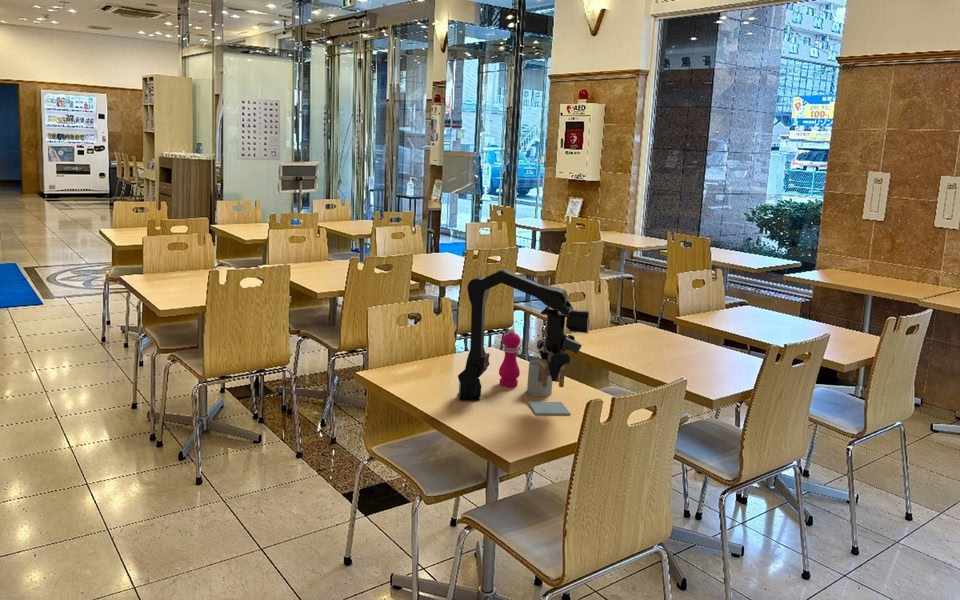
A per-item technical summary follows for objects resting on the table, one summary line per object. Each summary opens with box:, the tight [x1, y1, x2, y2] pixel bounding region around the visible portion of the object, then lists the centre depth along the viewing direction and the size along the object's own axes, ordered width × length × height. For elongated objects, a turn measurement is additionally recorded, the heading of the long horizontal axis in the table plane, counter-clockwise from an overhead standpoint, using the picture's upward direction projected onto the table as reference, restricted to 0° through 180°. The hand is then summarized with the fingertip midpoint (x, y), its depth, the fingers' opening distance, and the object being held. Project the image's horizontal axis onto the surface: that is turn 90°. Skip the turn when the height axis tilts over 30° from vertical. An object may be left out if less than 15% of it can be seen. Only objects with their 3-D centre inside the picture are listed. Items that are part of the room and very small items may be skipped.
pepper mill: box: [498, 328, 521, 388], centre depth 266 cm, size 7×7×20 cm
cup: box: [526, 359, 553, 397], centre depth 261 cm, size 8×8×10 cm
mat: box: [527, 401, 571, 416], centre depth 245 cm, size 11×11×1 cm
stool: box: [538, 359, 566, 388], centre depth 243 cm, size 7×7×7 cm
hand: (551, 377), depth 243 cm, fingers closed on stool, 6 cm apart
